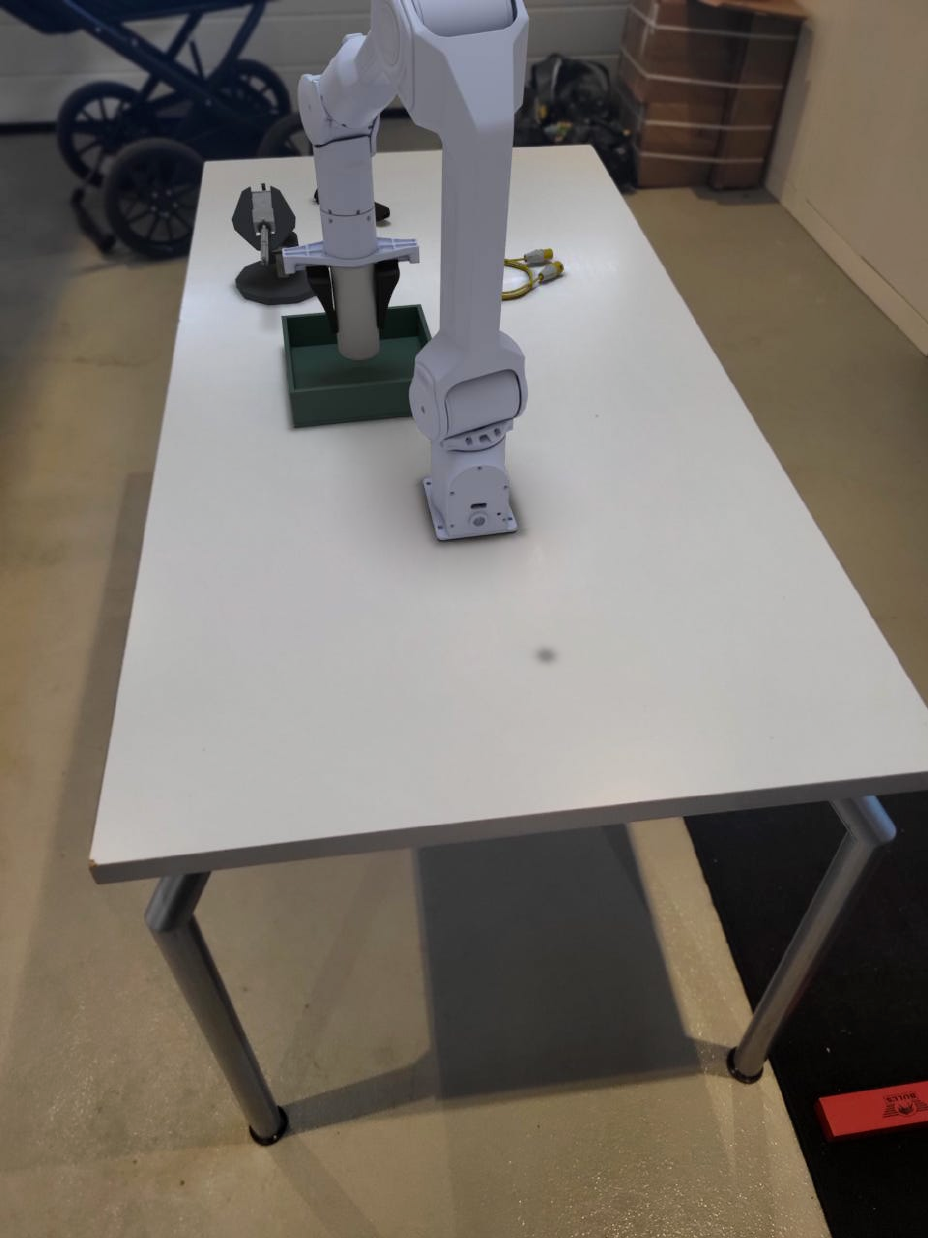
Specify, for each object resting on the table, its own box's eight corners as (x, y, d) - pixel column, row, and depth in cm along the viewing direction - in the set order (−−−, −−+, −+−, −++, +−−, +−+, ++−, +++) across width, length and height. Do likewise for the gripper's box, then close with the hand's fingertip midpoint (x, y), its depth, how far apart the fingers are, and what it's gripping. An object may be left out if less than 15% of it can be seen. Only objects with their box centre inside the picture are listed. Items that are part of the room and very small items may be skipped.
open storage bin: (445, 411, 101) (444, 377, 98) (294, 427, 99) (289, 392, 96) (421, 336, 113) (420, 303, 110) (286, 349, 111) (281, 315, 107)
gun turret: (234, 333, 113) (213, 232, 104) (237, 263, 127) (219, 168, 117) (332, 326, 115) (321, 226, 105) (325, 257, 128) (315, 163, 119)
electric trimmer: (378, 231, 135) (377, 210, 132) (312, 201, 142) (310, 180, 139) (396, 224, 137) (395, 203, 134) (330, 194, 144) (328, 174, 141)
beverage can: (373, 366, 102) (366, 264, 93) (333, 361, 102) (322, 259, 93) (384, 345, 105) (378, 244, 96) (345, 340, 105) (335, 240, 97)
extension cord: (569, 299, 120) (571, 285, 119) (454, 301, 119) (454, 287, 118) (558, 258, 128) (559, 245, 127) (450, 260, 128) (450, 247, 126)
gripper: (410, 185, 95) (415, 304, 105) (274, 194, 93) (291, 315, 103) (421, 211, 90) (424, 334, 100) (277, 222, 88) (295, 345, 98)
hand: (357, 326), depth 101 cm, fingers closed on beverage can, 5 cm apart
